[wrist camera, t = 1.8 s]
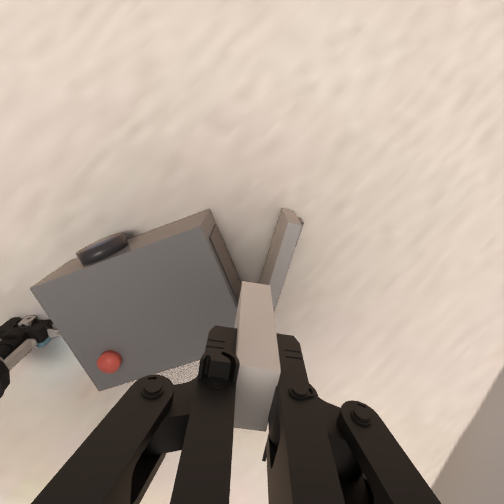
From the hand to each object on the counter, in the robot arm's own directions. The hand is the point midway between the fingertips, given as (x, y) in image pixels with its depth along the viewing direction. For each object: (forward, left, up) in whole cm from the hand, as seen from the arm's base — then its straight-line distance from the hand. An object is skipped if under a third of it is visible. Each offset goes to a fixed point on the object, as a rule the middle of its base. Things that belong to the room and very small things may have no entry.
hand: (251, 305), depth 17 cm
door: (+3, -3, -16) cm, 17 cm away
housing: (-8, -8, -16) cm, 20 cm away
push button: (-21, -16, -17) cm, 31 cm away
